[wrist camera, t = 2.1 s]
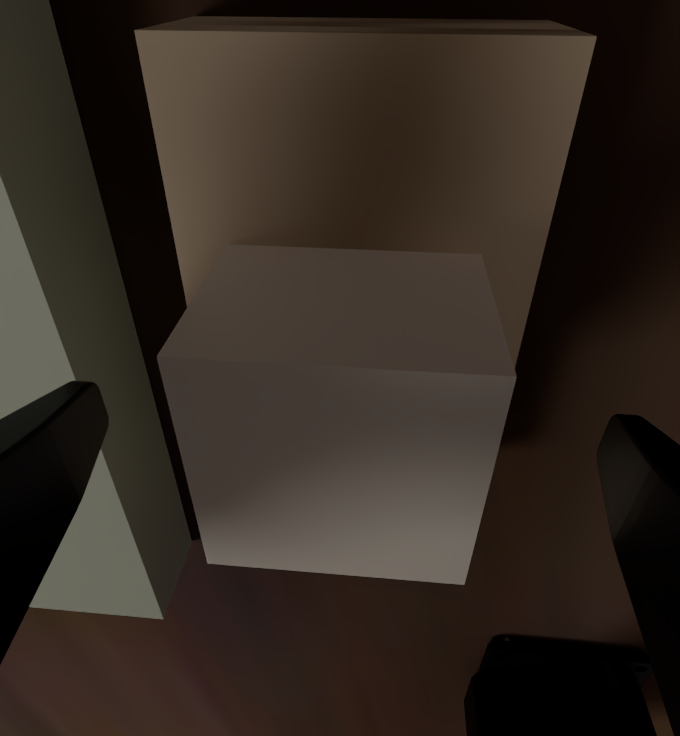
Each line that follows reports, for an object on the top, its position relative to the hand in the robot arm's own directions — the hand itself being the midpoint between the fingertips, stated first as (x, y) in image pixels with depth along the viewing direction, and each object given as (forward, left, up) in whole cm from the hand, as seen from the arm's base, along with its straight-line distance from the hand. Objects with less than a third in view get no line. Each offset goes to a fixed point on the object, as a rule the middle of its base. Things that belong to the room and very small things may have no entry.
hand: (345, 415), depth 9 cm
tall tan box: (0, 0, -5) cm, 5 cm away
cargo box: (0, 0, -2) cm, 2 cm away
